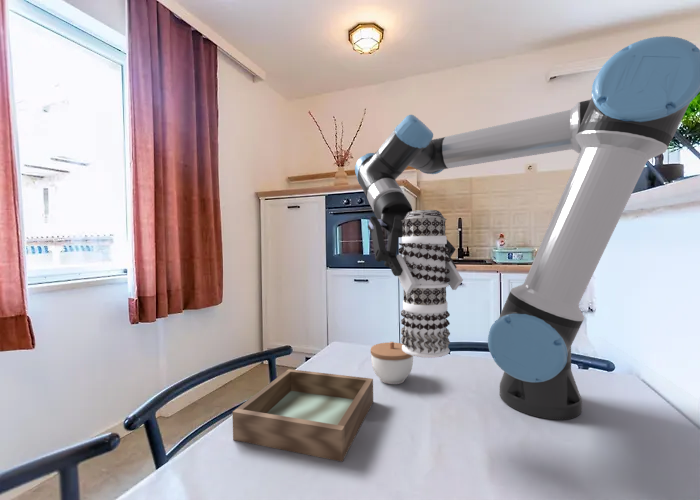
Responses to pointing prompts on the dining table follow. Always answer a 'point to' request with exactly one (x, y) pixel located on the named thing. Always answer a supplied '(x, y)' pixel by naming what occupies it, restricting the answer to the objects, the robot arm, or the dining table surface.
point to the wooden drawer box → (306, 413)
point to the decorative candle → (425, 285)
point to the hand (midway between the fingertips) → (435, 286)
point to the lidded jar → (391, 362)
